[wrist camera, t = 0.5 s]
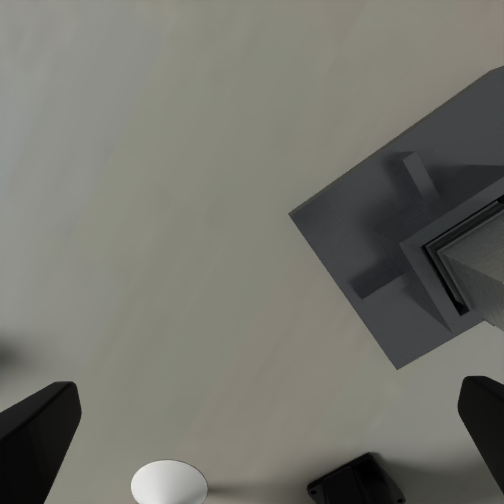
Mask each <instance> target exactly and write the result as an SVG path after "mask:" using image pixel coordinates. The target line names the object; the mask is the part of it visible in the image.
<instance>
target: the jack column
mask: <svg viewBox="0 0 504 504" xmlns="http://www.w3.org/2000/svg"><path fill="white" fill-rule="evenodd" d="M420 249H421V250H422V252H423V254H424V255H425V257H426V259H427V261H428V262H429V264H430V266H431V267H432V269H433V271H434V273H435V274H436V276H437V278H438V279H439V281H440V283H441V285H442V286H443V288H444V290H445V291H446V293H447V294H448V295H450V296H451V297H453V299H454V300H455V301H456V302H460V303H462V304H463V305H465V307H466V308H467V309H468V310H472V311H474V312H475V313H477V314H478V315H480V316H481V317H483V318H484V319H486V320H487V321H489V322H490V323H492V324H493V325H495V326H496V327H498V328H499V329H501V330H502V331H504V203H498V201H496V200H494V201H492V202H491V203H489V204H487V205H486V206H484V207H483V208H481V209H480V210H478V211H476V212H475V213H473V214H472V215H470V216H469V217H467V218H465V219H464V220H462V221H461V222H459V223H457V224H456V225H454V226H453V227H451V228H450V229H448V230H446V231H445V232H443V233H442V234H440V235H439V236H437V237H435V238H434V239H432V240H431V241H429V242H427V243H426V244H424V245H423V246H421V247H420Z"/></svg>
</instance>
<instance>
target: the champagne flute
mask: <svg viewBox="0 0 504 504" xmlns="http://www.w3.org/2000/svg"><path fill="white" fill-rule="evenodd" d="M131 490H132V494H133V496H134V498H135V499H136V500H137V502H138V503H139V504H202V503H203V501H204V500H205V498H206V496H207V491H208V489H207V483H206V480H205V478H204V477H203V476H202V474H201V473H200V472H199V471H198V470H197V469H195V468H194V467H192V466H190V465H188V464H186V463H183V462H179V461H173V460H161V461H156V462H152V463H149V464H147V465H145V466H143V467H142V468H141V469H139V470H138V471H137V472H136V474H135V475H134V477H133V479H132V482H131Z"/></svg>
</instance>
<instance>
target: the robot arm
mask: <svg viewBox="0 0 504 504" xmlns="http://www.w3.org/2000/svg"><path fill="white" fill-rule="evenodd" d="M458 412H459V415H460V417H461V419H462V421H463V423H464V425H465V426H466V428H467V430H468V432H469V434H470V436H471V437H472V439H473V441H474V443H475V445H476V446H477V448H478V450H479V452H480V454H481V455H482V457H483V459H484V461H485V463H486V464H487V466H488V468H489V470H490V472H491V473H492V475H493V477H494V479H495V480H496V482H497V484H498V486H499V487H500V489H501V491H502V492H503V494H504V385H503V384H501V383H499V382H497V381H495V380H493V379H491V378H488V377H486V376H467V377H465V378H464V379H463V382H462V386H461V391H460V395H459V400H458ZM81 413H82V411H81V405H80V400H79V395H78V390H77V386H76V384H75V383H74V382H72V381H60V382H54V383H52V384H50V385H48V386H47V387H45V388H43V389H41V390H40V391H38V392H36V393H34V394H32V395H31V396H29V397H27V398H25V399H24V400H22V401H20V402H18V403H17V404H15V405H13V406H11V407H10V408H8V409H6V410H4V411H3V412H1V413H0V504H44V502H45V500H46V498H47V496H48V494H49V492H50V490H51V487H52V485H53V483H54V481H55V478H56V476H57V474H58V471H59V469H60V467H61V464H62V462H63V460H64V457H65V455H66V453H67V450H68V448H69V446H70V443H71V441H72V439H73V436H74V434H75V432H76V429H77V427H78V425H79V422H80V419H81ZM307 490H308V494H309V496H310V497H311V498H312V499H313V500H314V501H315V502H316V503H317V504H404V503H405V502H406V499H405V497H404V495H403V493H402V492H401V491H400V489H399V488H398V487H397V486H396V484H395V483H394V482H393V481H392V480H391V478H390V477H389V476H388V475H387V473H386V472H385V471H384V470H383V468H382V467H381V466H380V465H379V463H378V462H377V461H376V460H375V459H374V457H373V456H372V455H369V454H367V455H364V456H362V457H360V458H358V459H357V460H355V461H353V462H351V463H349V464H347V465H345V466H343V467H341V468H340V469H338V470H336V471H334V472H332V473H330V474H328V475H326V476H324V477H322V478H321V479H319V480H317V481H315V482H313V483H311V484H309V485H308V487H307Z"/></svg>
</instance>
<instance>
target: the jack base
mask: <svg viewBox="0 0 504 504" xmlns="http://www.w3.org/2000/svg"><path fill="white" fill-rule="evenodd" d="M494 200H496V201H498V203H504V66H502V67H499V68H496V69H493V70H491V71H489V72H488V73H486V74H485V75H483V76H482V77H481V78H479V79H478V80H476V81H475V82H473V83H472V84H471V85H469V86H468V87H466V88H465V89H464V90H462V91H461V92H459V93H458V94H456V95H455V96H454V97H452V98H451V99H449V100H448V101H447V102H445V103H444V104H442V105H441V106H440V107H438V108H437V109H435V110H434V111H432V112H431V113H430V114H428V115H427V116H425V117H424V118H423V119H421V120H420V121H418V122H417V123H416V124H414V125H413V126H411V127H410V128H408V129H407V130H406V131H404V132H403V133H401V134H400V135H399V136H397V137H396V138H394V139H393V140H392V141H390V142H389V143H387V144H386V145H384V146H383V147H382V148H380V149H379V150H377V151H376V152H375V153H373V154H372V155H370V156H369V157H368V158H366V159H365V160H363V161H362V162H360V163H359V164H358V165H356V166H355V167H353V168H352V169H351V170H349V171H348V172H346V173H345V174H343V175H342V176H341V177H339V178H338V179H336V180H335V181H334V182H332V183H331V184H329V185H328V186H327V187H325V188H324V189H322V190H321V191H319V192H318V193H317V194H315V195H314V196H312V197H311V198H310V199H308V200H307V201H305V202H304V203H303V204H301V205H300V206H298V207H297V208H295V209H294V210H293V211H291V212H290V213H288V214H289V216H290V217H291V219H292V220H293V222H294V223H295V225H296V226H297V227H298V229H299V230H300V232H301V233H302V235H303V236H304V237H305V239H306V240H307V242H308V243H309V245H310V246H311V247H312V249H313V250H314V252H315V253H316V255H317V256H318V258H319V259H320V260H321V262H322V263H323V265H324V266H325V268H326V269H327V270H328V272H329V273H330V275H331V276H332V278H333V279H334V281H335V282H336V283H337V285H338V286H339V288H340V289H341V291H342V292H343V293H344V295H345V296H346V298H347V299H348V301H349V302H350V304H351V305H352V306H353V308H354V309H355V311H356V312H357V314H358V315H359V316H360V318H361V319H362V321H363V322H364V324H365V325H366V326H367V328H368V329H369V331H370V332H371V334H372V335H373V337H374V338H375V339H376V341H377V342H378V344H379V345H380V347H381V348H382V349H383V351H384V352H385V354H386V355H387V357H388V358H389V360H390V361H391V362H392V364H393V365H394V367H395V368H396V369H397V370H398V369H400V368H402V367H403V366H405V365H407V364H409V363H410V362H412V361H414V360H416V359H417V358H419V357H421V356H423V355H424V354H426V353H428V352H430V351H431V350H433V349H435V348H437V347H438V346H440V345H442V344H444V343H445V342H447V341H449V340H451V339H453V338H454V337H456V336H458V335H460V334H461V333H463V332H465V331H467V330H468V329H470V328H472V327H474V326H475V325H477V324H479V323H481V322H482V321H484V320H485V321H487V320H486V319H484V318H483V317H481V316H480V315H478V314H477V313H475V312H474V311H472V310H468V309H467V308H466V307H465V305H463V304H462V303H460V302H456V301H455V300H454V299H453V297H451V296H450V295H448V294H447V293H446V291H445V290H444V288H443V286H442V285H441V283H440V281H439V279H438V278H437V276H436V274H435V273H434V271H433V269H432V267H431V266H430V264H429V262H428V261H427V259H426V257H425V255H424V254H423V252H422V250H421V249H420V247H421V246H423V245H424V244H426V243H427V242H429V241H431V240H432V239H434V238H435V237H437V236H439V235H440V234H442V233H443V232H445V231H446V230H448V229H450V228H451V227H453V226H454V225H456V224H457V223H459V222H461V221H462V220H464V219H465V218H467V217H469V216H470V215H472V214H473V213H475V212H476V211H478V210H480V209H481V208H483V207H484V206H486V205H487V204H489V203H491V202H492V201H494ZM487 322H488V323H490V322H489V321H487ZM490 324H491V325H493V324H492V323H490ZM493 326H495V325H493Z"/></svg>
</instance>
